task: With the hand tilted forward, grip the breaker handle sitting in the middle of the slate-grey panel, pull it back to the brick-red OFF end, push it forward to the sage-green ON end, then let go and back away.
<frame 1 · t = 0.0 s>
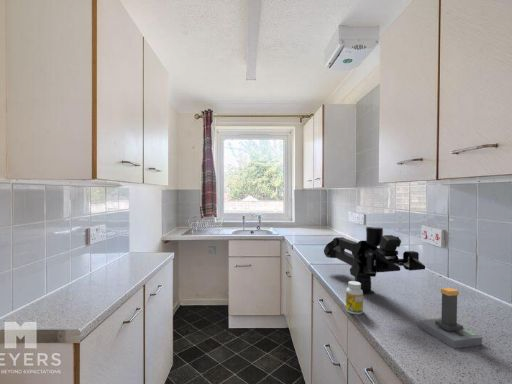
hand: (412, 268, 83), 17 cm above the worktop, tool horizontal, fingers open, 9 cm apart
breaker handle: (449, 308, 75), point 8 cm above the worktop, slide at 3.0 cm
supplement bottle: (354, 311, 89), on the worktop
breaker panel: (448, 335, 75), on the worktop
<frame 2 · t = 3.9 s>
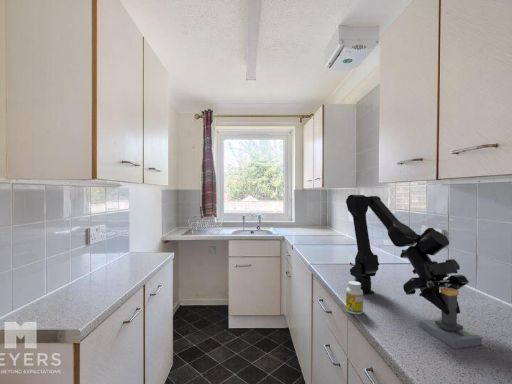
hand: (453, 313, 74), 7 cm above the worktop, tool tilted 45°, fingers closed on breaker handle, 3 cm apart
breaker handle: (449, 308, 75), point 8 cm above the worktop, slide at 3.0 cm, touching gripper
everything else where it was.
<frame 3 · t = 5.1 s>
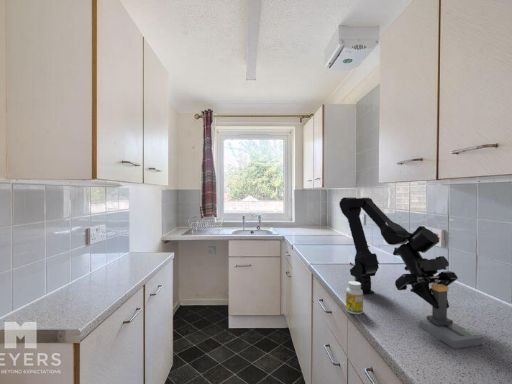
hand: (442, 308, 77), 7 cm above the worktop, tool tilted 45°, fingers closed on breaker handle, 3 cm apart
breaker handle: (439, 303, 78), point 8 cm above the worktop, slide at -0.1 cm, touching gripper
everything else where it was.
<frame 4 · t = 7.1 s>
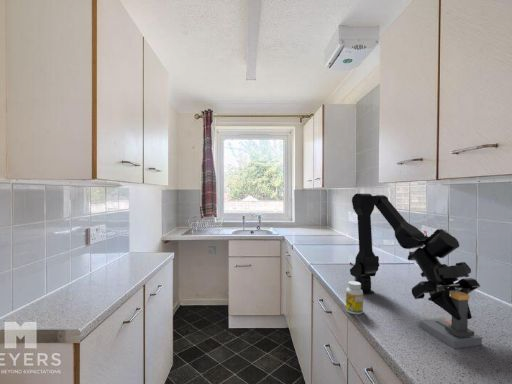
hand: (465, 319, 70), 7 cm above the worktop, tool tilted 45°, fingers closed on breaker handle, 3 cm apart
breaker handle: (459, 313, 72), point 8 cm above the worktop, slide at 6.1 cm, touching gripper
everything else where it was.
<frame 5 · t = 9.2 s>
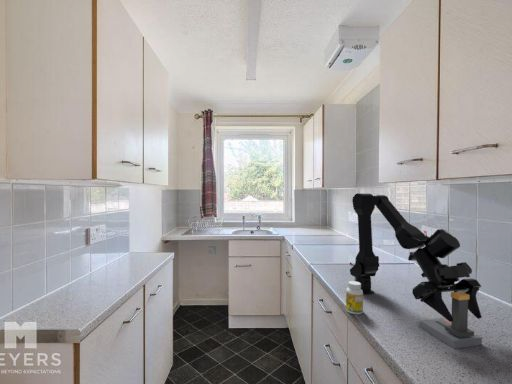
hand: (466, 319, 70), 7 cm above the worktop, tool tilted 45°, fingers open, 9 cm apart
breaker handle: (459, 313, 72), point 8 cm above the worktop, slide at 6.0 cm
everything else where it was.
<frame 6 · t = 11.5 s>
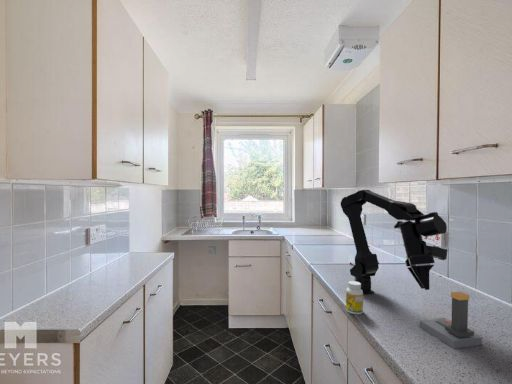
hand: (425, 289, 83), 10 cm above the worktop, tool tilted 20°, fingers open, 9 cm apart
nothing on the worktop moved.
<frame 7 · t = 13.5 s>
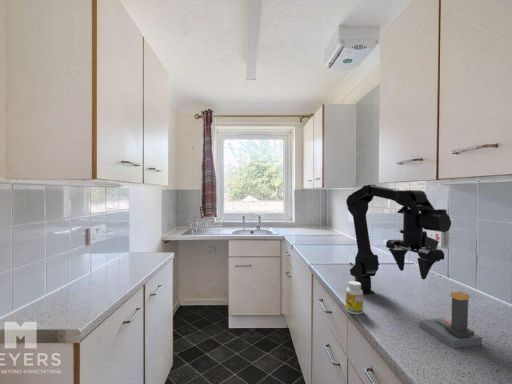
hand: (412, 274, 88), 13 cm above the worktop, tool pointing down, fingers open, 9 cm apart
nothing on the worktop moved.
at the end: breaker handle slide at 6.0 cm; the gripper is holding nothing; supplement bottle moved 0.2 cm from its start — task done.
